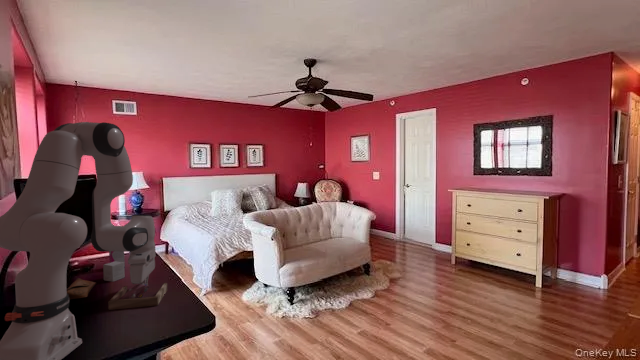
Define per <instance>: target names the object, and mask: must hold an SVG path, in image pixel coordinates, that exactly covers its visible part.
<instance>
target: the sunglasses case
mask: <svg viewBox="0 0 640 360" xmlns="http://www.w3.org/2000/svg"><path fill="white" fill-rule="evenodd" d="M97 284H98V282H95V281H91V280H86V279H82V278H79V277H77V278H76V279H75V280H74V281H73V282H72V283H71V284H70V285H69V286H68V288H67V294H68V295H69V301H70V300H74V299H81V298H82V299H83V298H87V297H88V296H89V294H90V292H91V290H92V289H93V288H94V287H95V286H96V285H97Z"/></svg>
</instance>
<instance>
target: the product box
mask: <svg viewBox="0 0 640 360" xmlns="http://www.w3.org/2000/svg"><path fill="white" fill-rule="evenodd" d="M102 271H103V280H104V281H106V282H116V281H119V280H121V279H124V278H125V268H124V262H117V261H114V262H111V263H110V262H108V263H104V264H103V270H102Z"/></svg>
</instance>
